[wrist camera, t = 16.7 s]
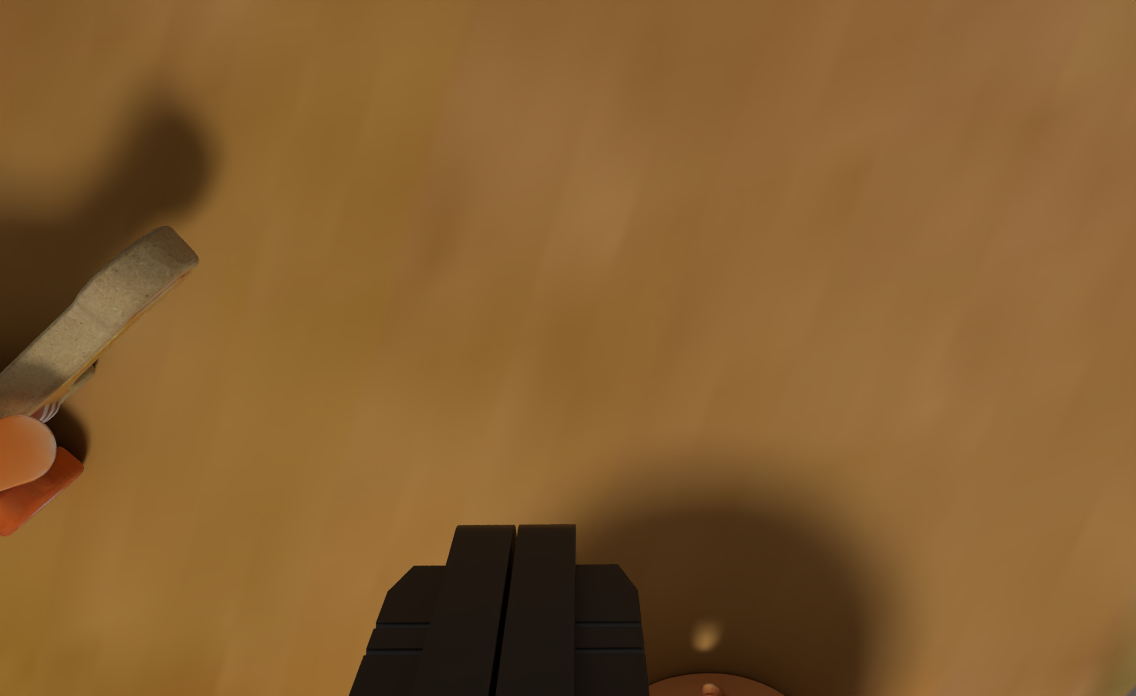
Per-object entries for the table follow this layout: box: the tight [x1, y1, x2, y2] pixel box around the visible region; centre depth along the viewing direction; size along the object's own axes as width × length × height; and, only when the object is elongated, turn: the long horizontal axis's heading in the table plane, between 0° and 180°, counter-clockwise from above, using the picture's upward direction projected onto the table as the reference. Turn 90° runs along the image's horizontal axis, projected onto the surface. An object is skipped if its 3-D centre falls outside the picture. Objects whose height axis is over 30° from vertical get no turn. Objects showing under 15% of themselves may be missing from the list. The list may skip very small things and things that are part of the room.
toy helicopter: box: [0, 226, 198, 536], centre depth 34 cm, size 8×21×14 cm, turn 130°
